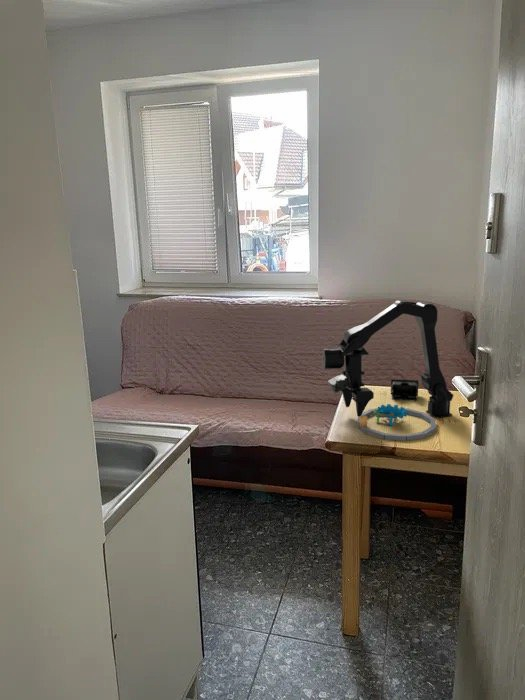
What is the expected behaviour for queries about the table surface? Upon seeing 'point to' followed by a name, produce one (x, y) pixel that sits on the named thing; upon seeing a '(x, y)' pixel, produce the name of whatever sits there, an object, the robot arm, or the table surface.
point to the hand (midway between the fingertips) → (353, 411)
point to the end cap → (404, 389)
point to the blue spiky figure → (390, 412)
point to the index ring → (403, 437)
